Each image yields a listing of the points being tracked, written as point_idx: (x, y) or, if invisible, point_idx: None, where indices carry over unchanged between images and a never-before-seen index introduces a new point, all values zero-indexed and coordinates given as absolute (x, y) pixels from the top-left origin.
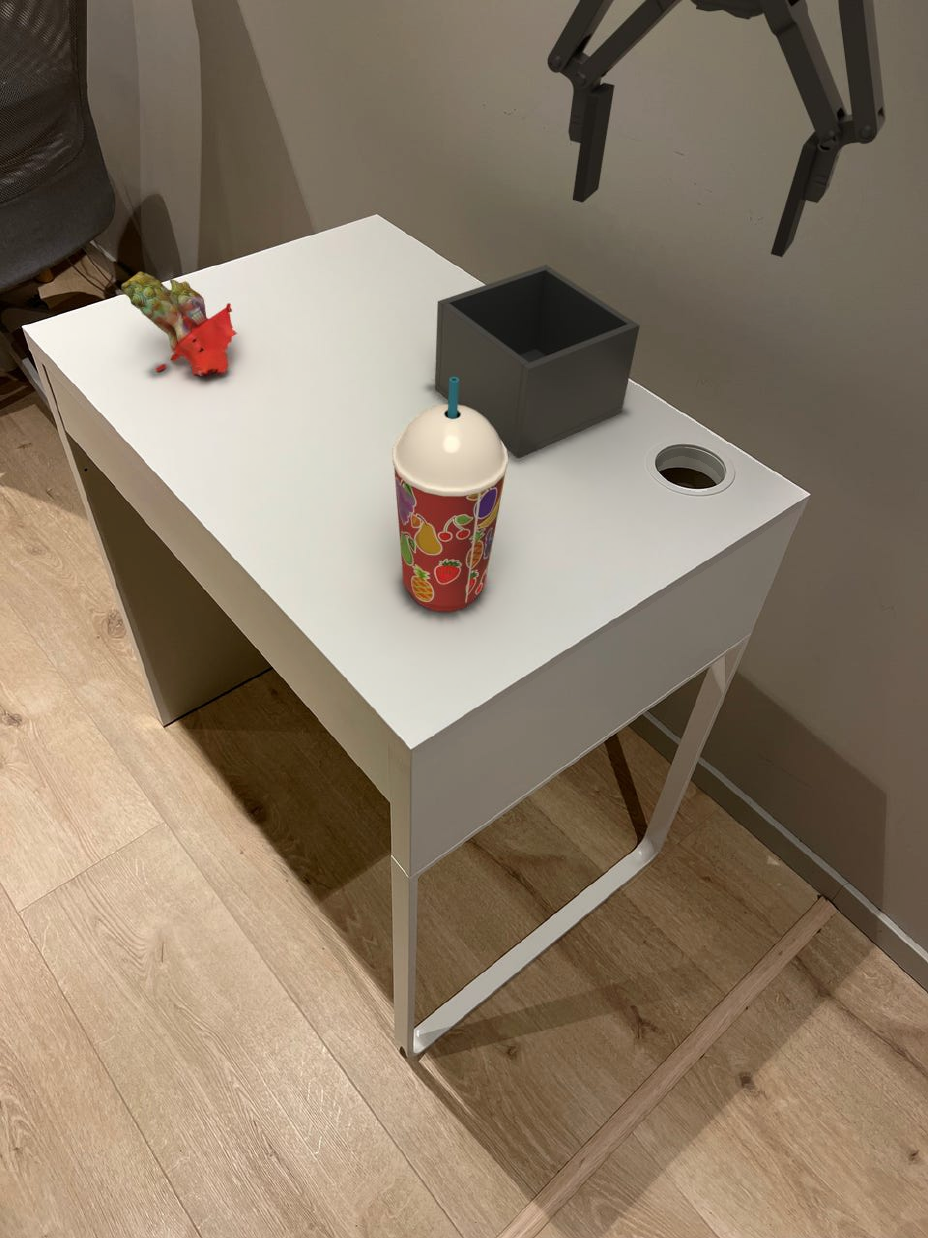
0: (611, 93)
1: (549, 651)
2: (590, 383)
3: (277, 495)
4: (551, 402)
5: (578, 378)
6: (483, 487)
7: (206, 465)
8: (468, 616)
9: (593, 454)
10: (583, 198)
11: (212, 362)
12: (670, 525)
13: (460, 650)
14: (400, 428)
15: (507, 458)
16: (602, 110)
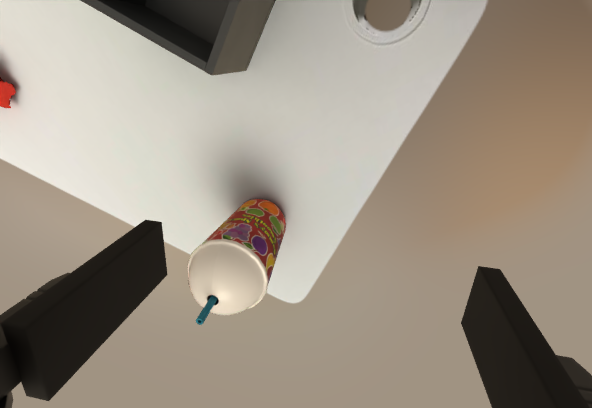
0: (42, 328)
1: (339, 239)
2: None
3: (137, 186)
4: (243, 39)
5: (251, 5)
6: (262, 298)
7: (87, 180)
8: (286, 232)
9: (299, 29)
10: (164, 277)
11: (3, 97)
12: (385, 92)
13: (293, 255)
14: (152, 80)
15: (262, 268)
16: (70, 341)
